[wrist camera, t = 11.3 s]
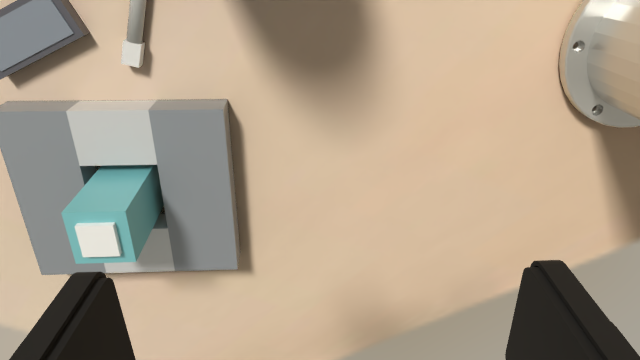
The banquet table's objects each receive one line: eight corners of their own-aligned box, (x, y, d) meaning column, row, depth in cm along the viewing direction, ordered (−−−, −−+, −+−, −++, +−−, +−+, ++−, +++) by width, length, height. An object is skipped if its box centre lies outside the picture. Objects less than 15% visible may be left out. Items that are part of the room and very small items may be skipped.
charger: (157, 159, 37) (123, 214, 30) (164, 203, 39) (134, 265, 31) (105, 160, 37) (58, 216, 29) (115, 204, 39) (73, 267, 31)
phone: (55, -19, 31) (48, -17, 30) (89, 32, 32) (83, 35, 31) (-29, 28, 32) (-40, 31, 31) (8, 75, 33) (-1, 79, 32)
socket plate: (227, 99, 35) (223, 109, 33) (240, 252, 41) (237, 269, 39) (7, 101, 34) (-12, 111, 32) (54, 257, 41) (41, 274, 38)
